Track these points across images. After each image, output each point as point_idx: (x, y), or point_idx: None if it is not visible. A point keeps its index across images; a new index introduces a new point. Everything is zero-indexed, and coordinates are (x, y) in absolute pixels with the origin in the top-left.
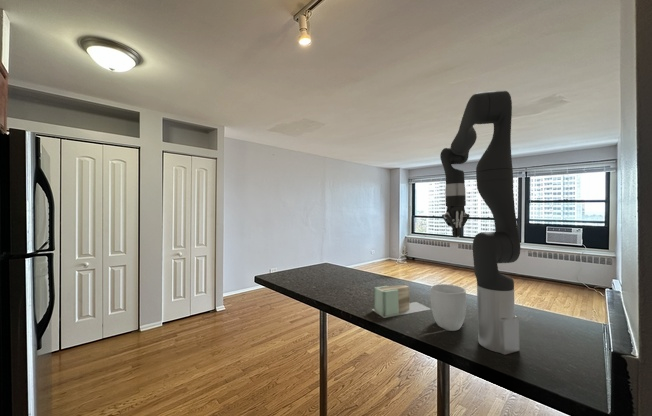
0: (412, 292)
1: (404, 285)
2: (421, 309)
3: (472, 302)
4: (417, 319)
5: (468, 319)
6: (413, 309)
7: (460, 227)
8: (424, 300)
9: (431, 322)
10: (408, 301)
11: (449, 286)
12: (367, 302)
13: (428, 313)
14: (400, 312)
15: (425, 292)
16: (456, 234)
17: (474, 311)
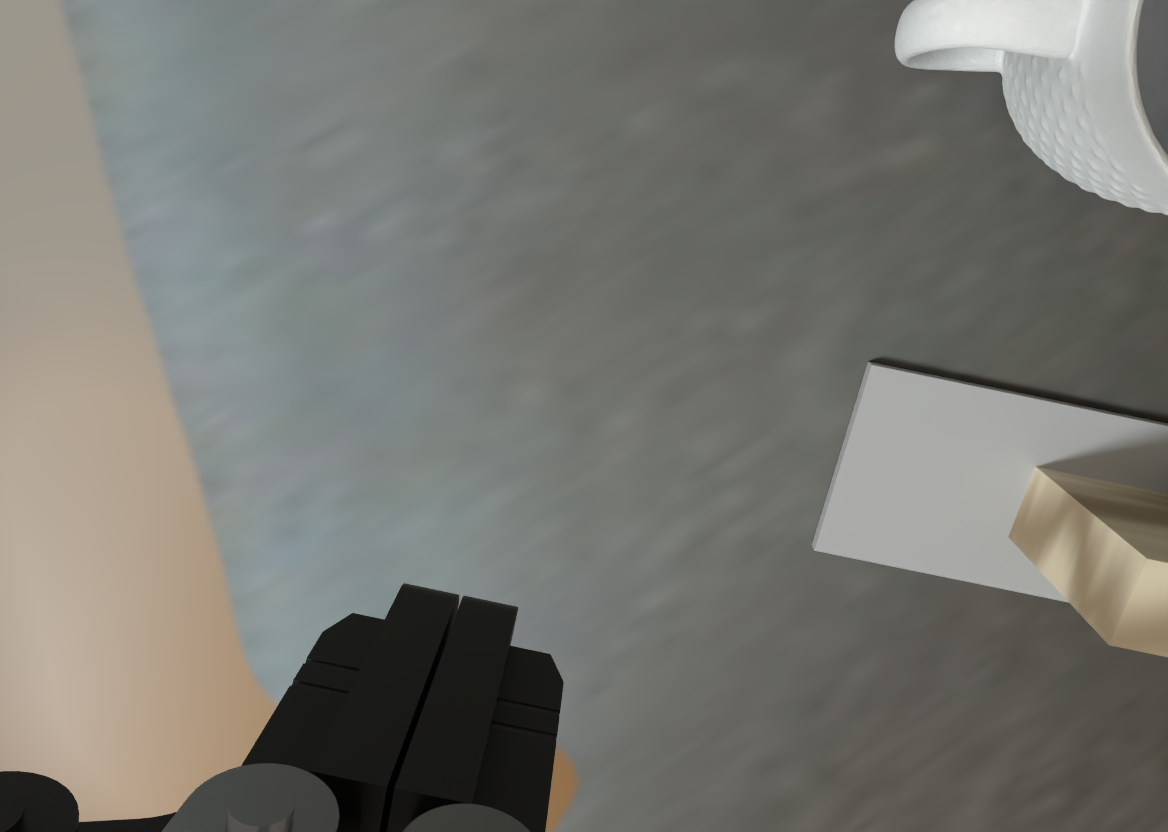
0: (582, 739)
1: (1132, 619)
2: (951, 409)
3: (356, 270)
4: (1147, 307)
5: (801, 48)
6: (1005, 449)
7: (265, 767)
8: (683, 551)
9: None
10: (1080, 496)
11: (1142, 110)
12: (1123, 782)
13: (949, 337)
14: (1157, 466)
15: None
16: (504, 664)
17: (568, 126)
